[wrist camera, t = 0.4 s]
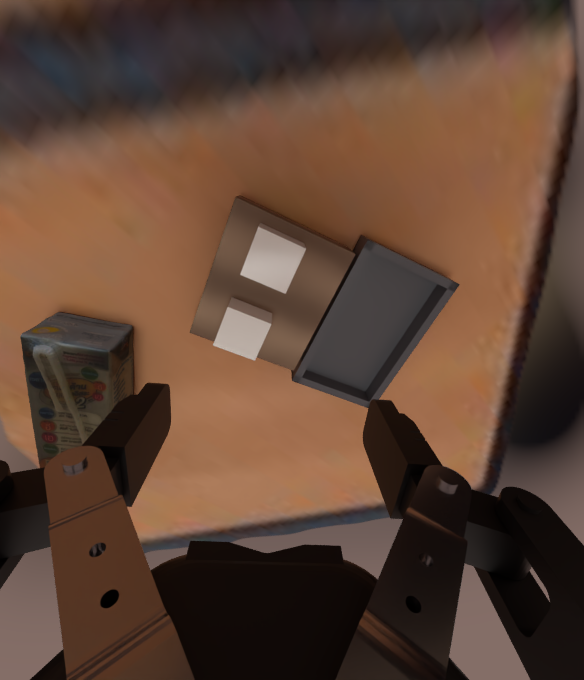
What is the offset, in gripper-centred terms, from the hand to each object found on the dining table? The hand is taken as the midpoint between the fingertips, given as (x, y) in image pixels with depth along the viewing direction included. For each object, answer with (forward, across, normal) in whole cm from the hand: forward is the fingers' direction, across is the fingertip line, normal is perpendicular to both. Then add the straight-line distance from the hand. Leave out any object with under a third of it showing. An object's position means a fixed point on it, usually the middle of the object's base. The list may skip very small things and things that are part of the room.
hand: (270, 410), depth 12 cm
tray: (+21, -10, +3) cm, 23 cm away
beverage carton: (+22, +19, +14) cm, 32 cm away
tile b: (+18, +3, +3) cm, 18 cm away
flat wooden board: (+20, +1, -1) cm, 21 cm away
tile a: (+17, 0, -4) cm, 18 cm away
